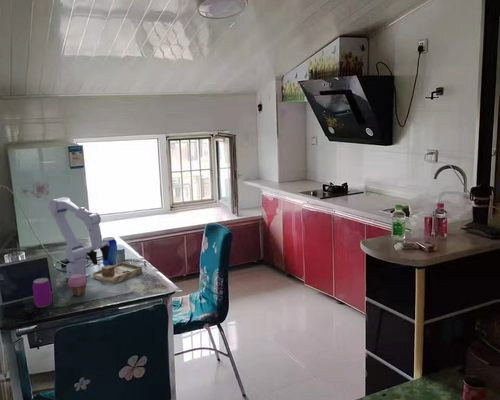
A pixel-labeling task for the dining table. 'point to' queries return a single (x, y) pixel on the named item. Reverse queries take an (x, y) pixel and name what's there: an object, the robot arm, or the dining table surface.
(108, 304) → the dining table surface
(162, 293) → the dining table surface
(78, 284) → the cupcake
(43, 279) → the beverage can
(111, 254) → the beer can
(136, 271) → the divided beige tray
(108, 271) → the walnut block
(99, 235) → the robot arm
